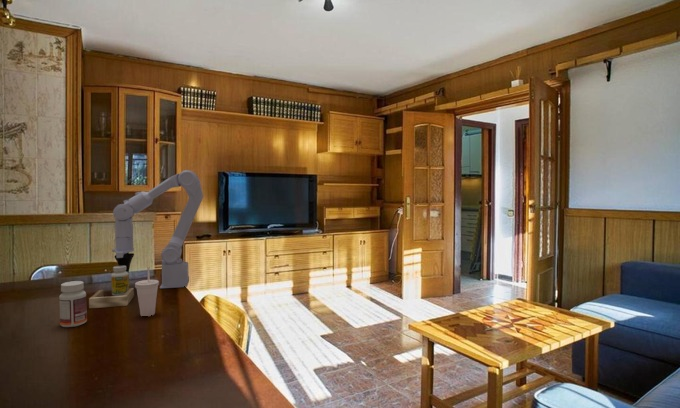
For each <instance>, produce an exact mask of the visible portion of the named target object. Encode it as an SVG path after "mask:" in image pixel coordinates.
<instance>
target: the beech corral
mask: <svg viewBox="0 0 680 408" xmlns="http://www.w3.org/2000/svg"><path fill="white" fill-rule="evenodd" d="M134 297H135V287H129V290H128V291H127V292H126V293H125V294H124V295H120V296H114V295H111V296H104V289H98V290H97V291H96V292H95V293H94V294H93V295H92V296H90V297H88V307H89V309H100V308H101V309H102V308H110V307H111V308H112V307H125V306H129V304H130V302H132V300H133V299H134Z"/></svg>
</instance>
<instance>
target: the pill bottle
mask: <svg viewBox="0 0 680 408" xmlns="http://www.w3.org/2000/svg"><path fill="white" fill-rule="evenodd" d="M84 283H85V282H84V281H81V280H74V281H71V280H70V281H66V282H63V283H61V284H60V292H62V293H61V294H60V295H59V296H58V298H59V299H58V300H59V325H60V326H61V327H62V328H74V327H78V326H79V327H80V326H82V325H83V324H85V323H87V322H88V310H87V309H88V307H87V305H88V304H87V292H86V290H84V288H85V284H84Z"/></svg>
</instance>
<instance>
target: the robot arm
mask: <svg viewBox="0 0 680 408" xmlns="http://www.w3.org/2000/svg"><path fill="white" fill-rule="evenodd" d="M179 187H182V188H183V189H184V190H185V191H186V194H187V196H188V200H187V202H186V205H184V206H185V207H184V209H183V211H182V213H181V215H180V217H179V221H178V222H177V225H176V227H175V229H174V231H173V233H172V237H171V238H170V240H169V242H168V244H167V245H165V247H164V248H163V249H162V251H161V255H160V256H161V259H162V261H161V284H160V286H159V289H174V288H176V289H177V288H187V287H188V285H189V282H190V275H189V273H190V272H189V268H190V267H189V262H188V261H183V259H182V258H181V256H182V253H183V245H184V242H185V239H186V237H187V235H188V232H189V231H190V228H191V226H192V224H193V221H194V219H195V217H196V215H197V212H198V210H199V207H200V205H201V204H202V201H203V198H204V193H203V189H202V184H201V180H200V178H199V177H198V175H197V174H196V173H195V172H194V171H193V170H189V169H185V170H182V171H181V172H180V173H176V174H174V175H172V176H170V177H168V178H167V179H165V180H163V181H162V182H160V183H158V185H156V186H155V187H153V188H152V189H150V190H149V191H143V190H142V191H140V192H139V191H137V192H134V196H132V197H130V198H128V199H124V200H123V203H121V204H119V203H118V204H117V205H116V206H115V207H114V208H113V209H112V210H113V211H112V214H113V217H114V218H115V219H114V222H115V224H114V235H115V236H114V237H115V239H114V240H115V241H114V242H115V247H114V248H112V249H111V252H115V255H114V259H115V260H116V262H117V266H126V272H128V273H129V274H130V268H131V267H130V266H131V263H132V259H133V258H134V256H135V254H134V251H135V248H134V223H133V217H134V215H137V214H138V213H140V212H141V211H144V210H145V209H147V208H148V207H149V206H151V205H152V204H153V201H154V199H155V198H157V197H159V196H161V195H162V194H163V193H165V192H167V191H169V190H171V189H172V188H179ZM132 252H133V253H132ZM184 286H185V287H184Z"/></svg>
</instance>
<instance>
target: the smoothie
mask: <svg viewBox="0 0 680 408" xmlns="http://www.w3.org/2000/svg"><path fill="white" fill-rule="evenodd" d="M150 270H151V269H150V266H148V267H147V279H143V280H140V281H136V282H135V283H134V288H135V289H136V294H137V295H136V296H137V301H138V306H139V314H140V316H141V317H142V316H148V317H151V315H152V316H154V315H155V313H156V305H157V297H158V296H157V295H158V286H159V285H160V281H159V280H157V279H151V278H150V277H151V276H150V275H151V273H150V272H151V271H150Z"/></svg>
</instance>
